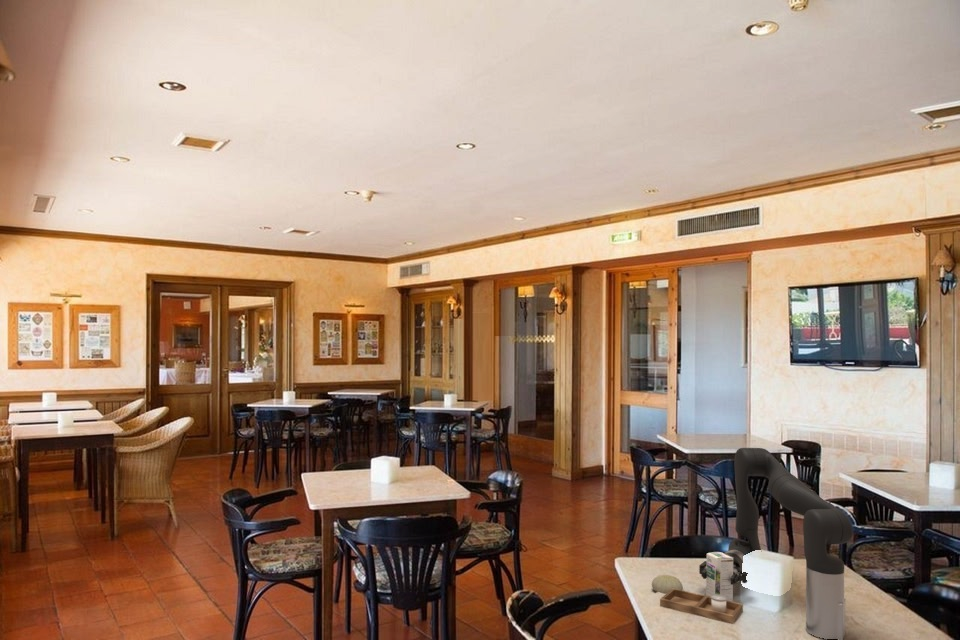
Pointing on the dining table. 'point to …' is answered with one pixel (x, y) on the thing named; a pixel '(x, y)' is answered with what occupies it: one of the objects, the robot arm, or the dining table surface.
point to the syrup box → (719, 575)
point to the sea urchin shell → (666, 583)
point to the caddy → (699, 605)
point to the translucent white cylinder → (718, 603)
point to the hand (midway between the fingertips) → (717, 578)
